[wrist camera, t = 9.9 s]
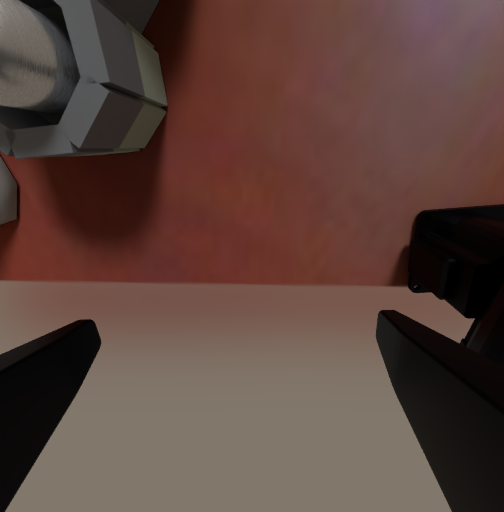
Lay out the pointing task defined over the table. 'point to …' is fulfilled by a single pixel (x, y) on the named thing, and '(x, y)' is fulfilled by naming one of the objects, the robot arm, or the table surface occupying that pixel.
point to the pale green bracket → (152, 100)
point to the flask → (7, 195)
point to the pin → (35, 60)
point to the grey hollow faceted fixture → (87, 84)
